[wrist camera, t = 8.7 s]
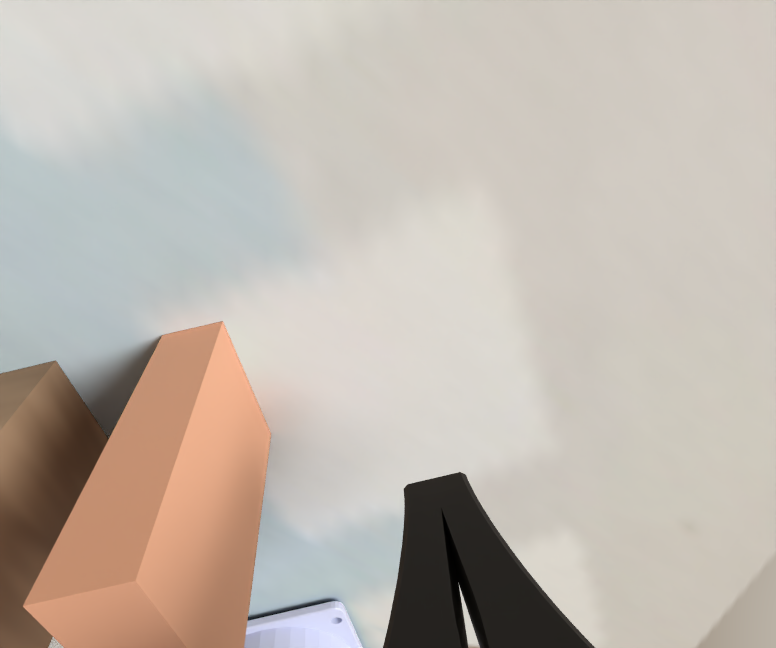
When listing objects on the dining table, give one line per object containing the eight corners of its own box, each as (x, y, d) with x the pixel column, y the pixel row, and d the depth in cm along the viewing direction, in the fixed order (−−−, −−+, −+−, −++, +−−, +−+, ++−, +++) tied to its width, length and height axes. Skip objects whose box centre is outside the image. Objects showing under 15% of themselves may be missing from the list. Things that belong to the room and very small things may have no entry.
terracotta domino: (271, 434, 19) (236, 711, 11) (218, 445, 19) (148, 731, 11) (222, 321, 17) (135, 580, 9) (162, 335, 17) (23, 605, 9)
